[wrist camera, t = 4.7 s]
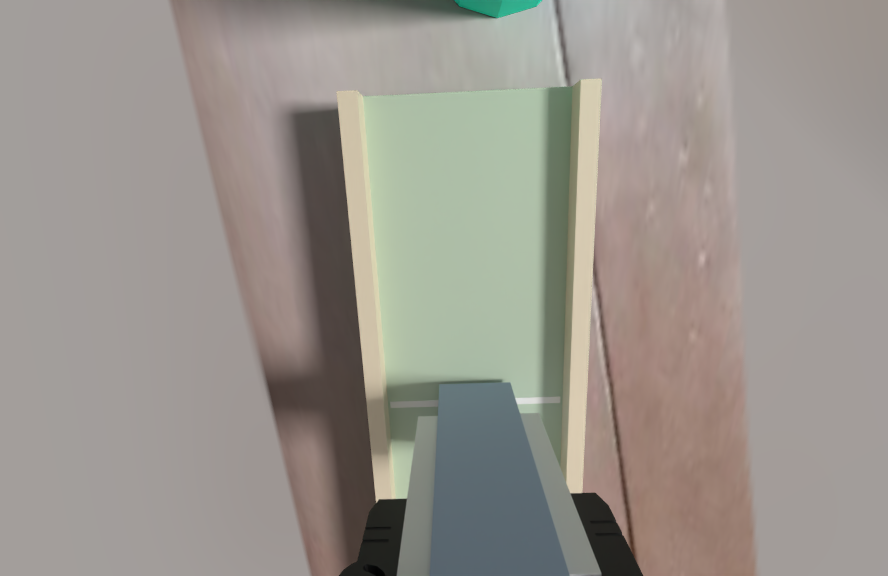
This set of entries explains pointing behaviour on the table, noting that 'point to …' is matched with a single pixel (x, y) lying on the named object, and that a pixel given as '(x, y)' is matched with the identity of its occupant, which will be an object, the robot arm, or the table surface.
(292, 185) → the table surface
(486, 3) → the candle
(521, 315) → the pitch
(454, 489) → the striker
